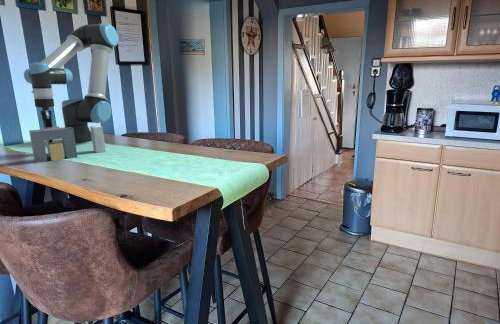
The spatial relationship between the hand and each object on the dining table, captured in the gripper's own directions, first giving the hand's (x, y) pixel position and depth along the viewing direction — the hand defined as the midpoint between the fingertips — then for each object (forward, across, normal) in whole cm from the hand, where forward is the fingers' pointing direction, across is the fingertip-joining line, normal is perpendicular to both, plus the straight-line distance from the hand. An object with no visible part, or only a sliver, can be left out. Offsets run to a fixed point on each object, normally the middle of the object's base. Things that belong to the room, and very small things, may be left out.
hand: (51, 148), depth 158 cm
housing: (+2, +14, 0) cm, 14 cm away
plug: (+2, +9, 0) cm, 9 cm away
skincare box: (+2, +9, +19) cm, 21 cm away
